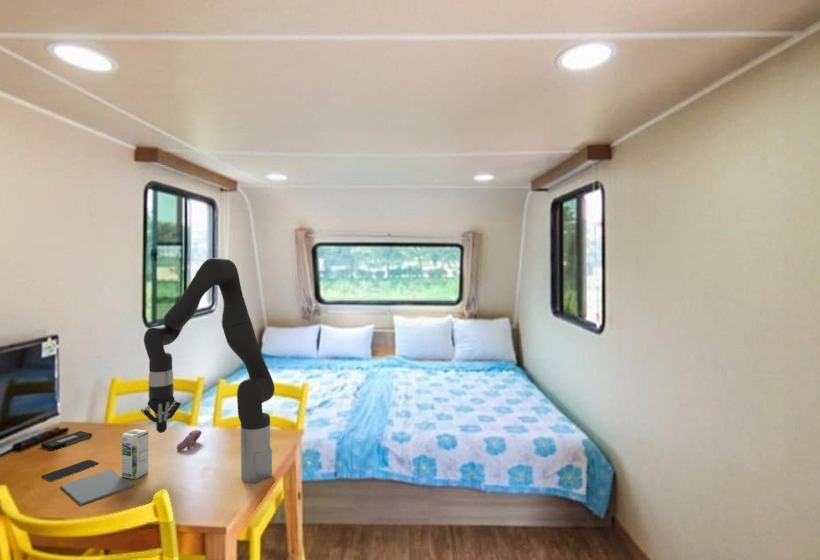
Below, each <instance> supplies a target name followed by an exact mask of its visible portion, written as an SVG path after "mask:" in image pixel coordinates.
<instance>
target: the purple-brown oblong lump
mask: <svg viewBox="0 0 820 560" xmlns="http://www.w3.org/2000/svg"><path fill="white" fill-rule="evenodd" d="M202 433H203V432H202V431H201V430H198V429H195V430H192V431H190V432H189V433H188V434H187V436H186V437H185V438H184V439H183V440H182V441H181V442H180V443H178V444H177V445H176V450H177V451H183V450H185V449H186V448H188V449H190V448H191V447H192V445H193V446H194V445H195V444H196V443H197V440H199V438H200V437H201V435H202Z"/></svg>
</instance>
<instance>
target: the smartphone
mask: <svg viewBox="0 0 820 560" xmlns="http://www.w3.org/2000/svg"><path fill="white" fill-rule="evenodd" d="M98 464H99V465H100V462H97V461H94V460H91V459H86V460H83V461H79V462H77V463H75V464H71V465H69V466H65V467H63V468H60V469H58V470H54V471H51V472H48V473H45V474H43V475H41V477H40V478H41V479H43V478H44V479H43V480H45V479H46V480H45V481H48V480H49V481H48V482H55V481H58V480H60V478H61V479H64V478H67V477H69V476H72V475H75V474H77V473H80V472H83V471H86V470H88V469H91V468H93V466H94V467H96V466H95V465H97V466H99V465H98ZM90 467H91V468H90ZM85 469H86V470H85ZM82 470H83V471H82ZM79 471H80V472H79ZM74 473H75V474H74ZM71 474H72V475H71ZM68 475H69V476H68ZM66 476H67V477H66ZM63 477H64V478H63ZM57 479H58V480H57ZM54 480H55V481H54Z"/></svg>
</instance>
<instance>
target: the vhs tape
mask: <svg viewBox="0 0 820 560" xmlns="http://www.w3.org/2000/svg"><path fill="white" fill-rule="evenodd" d="M90 437H93V434H92V433H90V432H86V431H83V430H82V431H81V430H80V431H76V432H73V433H70V434H66V435H64V436H60V437H56V438H53V439H51V440H48V441H44V442H42V443H40V447H41V448H43V449H46V448H47V449H46V450H50V449H51V451H56V450H58V448H59V449H61V447H62V448H65V447H67V446H70V445H73V444H76V443H79V442H82V441H84V440H88V439H91V438H90ZM64 446H65V447H64ZM55 449H56V450H55Z"/></svg>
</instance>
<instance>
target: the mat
mask: <svg viewBox="0 0 820 560" xmlns="http://www.w3.org/2000/svg"><path fill="white" fill-rule="evenodd" d="M133 487H134V484H132V483H131V482H130V481H128V480H127V479H126V478H125V477H122V475H119V474H118V473H117V472H115V471H114V470H112V469H107V470H104V471H102V472H98V473H95V474H92V475H88V476H85V477H82V478H79V479H76V480H73V481H70V482H67V483H63V484H60V488H61V489H62V490H64V491H65V493H67V494H68V495H69V496H71V498H72V499H73V500H74V501H75V502H77V503H78V504H79V506H83V505H85V504H89V503H92V502H94V501H97V500H99V499H103V498H105V497H108V496H110V495H114V494H117V493H120V492H123V491H126V490H129V489H131V488H133Z"/></svg>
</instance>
